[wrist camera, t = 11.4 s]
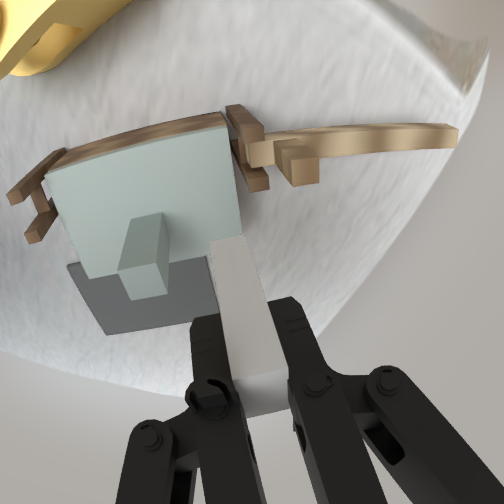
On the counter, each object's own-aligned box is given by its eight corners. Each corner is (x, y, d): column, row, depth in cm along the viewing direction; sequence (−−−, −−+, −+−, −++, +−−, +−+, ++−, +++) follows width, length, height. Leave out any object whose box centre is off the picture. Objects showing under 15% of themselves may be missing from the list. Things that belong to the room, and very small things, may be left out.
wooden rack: (88, 243, 38) (64, 306, 28) (53, 151, 30) (6, 194, 20) (252, 208, 40) (276, 265, 30) (239, 104, 32) (263, 126, 22)
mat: (106, 332, 48) (106, 335, 47) (67, 264, 39) (66, 267, 38) (219, 313, 49) (220, 316, 49) (200, 235, 41) (200, 238, 40)
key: (247, 159, 27) (264, 192, 21) (244, 136, 26) (261, 163, 20) (444, 141, 29) (487, 165, 23) (445, 123, 28) (490, 145, 22)
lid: (91, 272, 32) (73, 333, 25) (48, 171, 25) (6, 217, 17) (243, 241, 34) (260, 300, 26) (225, 124, 26) (241, 154, 19)
